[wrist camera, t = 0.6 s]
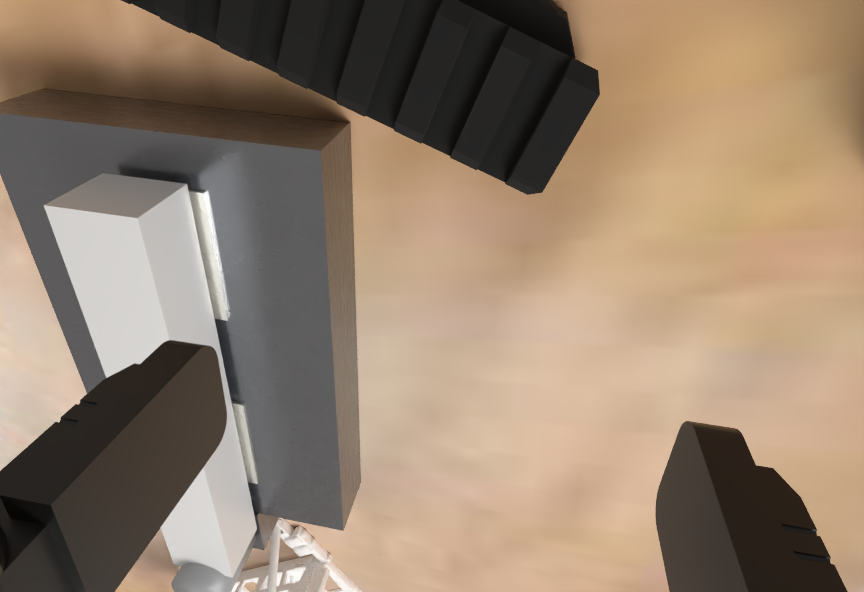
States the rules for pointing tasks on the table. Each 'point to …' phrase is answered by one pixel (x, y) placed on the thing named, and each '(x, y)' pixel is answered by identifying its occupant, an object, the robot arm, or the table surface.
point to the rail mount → (422, 69)
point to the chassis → (227, 268)
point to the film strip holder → (295, 566)
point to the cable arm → (158, 343)
